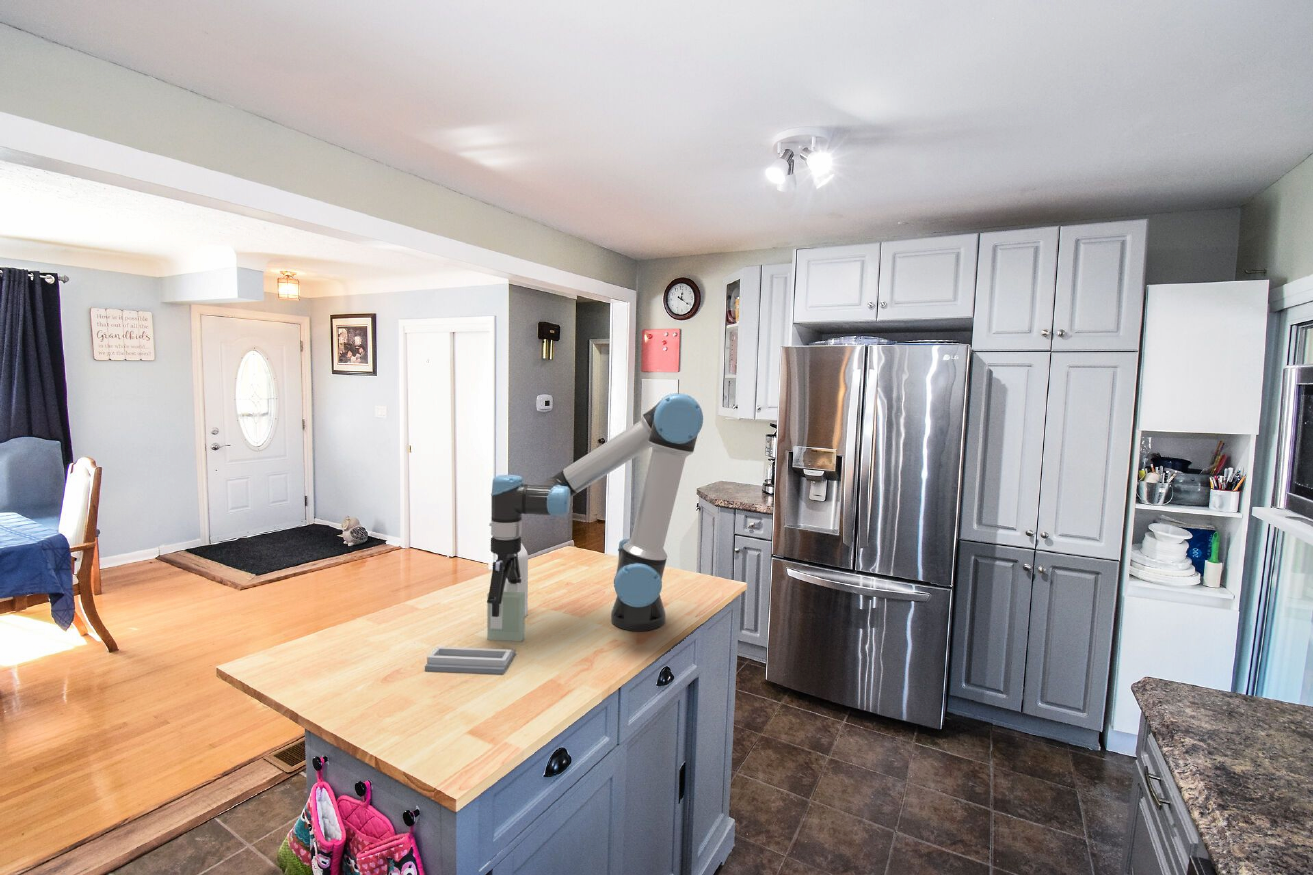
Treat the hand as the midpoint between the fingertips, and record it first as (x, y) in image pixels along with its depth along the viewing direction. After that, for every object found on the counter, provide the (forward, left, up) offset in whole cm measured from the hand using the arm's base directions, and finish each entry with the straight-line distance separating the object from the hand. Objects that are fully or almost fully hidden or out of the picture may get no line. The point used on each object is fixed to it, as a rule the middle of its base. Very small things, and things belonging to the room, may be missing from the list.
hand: (504, 617), depth 154 cm
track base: (+4, +14, -6) cm, 15 cm away
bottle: (+2, -16, -6) cm, 17 cm away
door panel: (0, 0, -6) cm, 6 cm away
